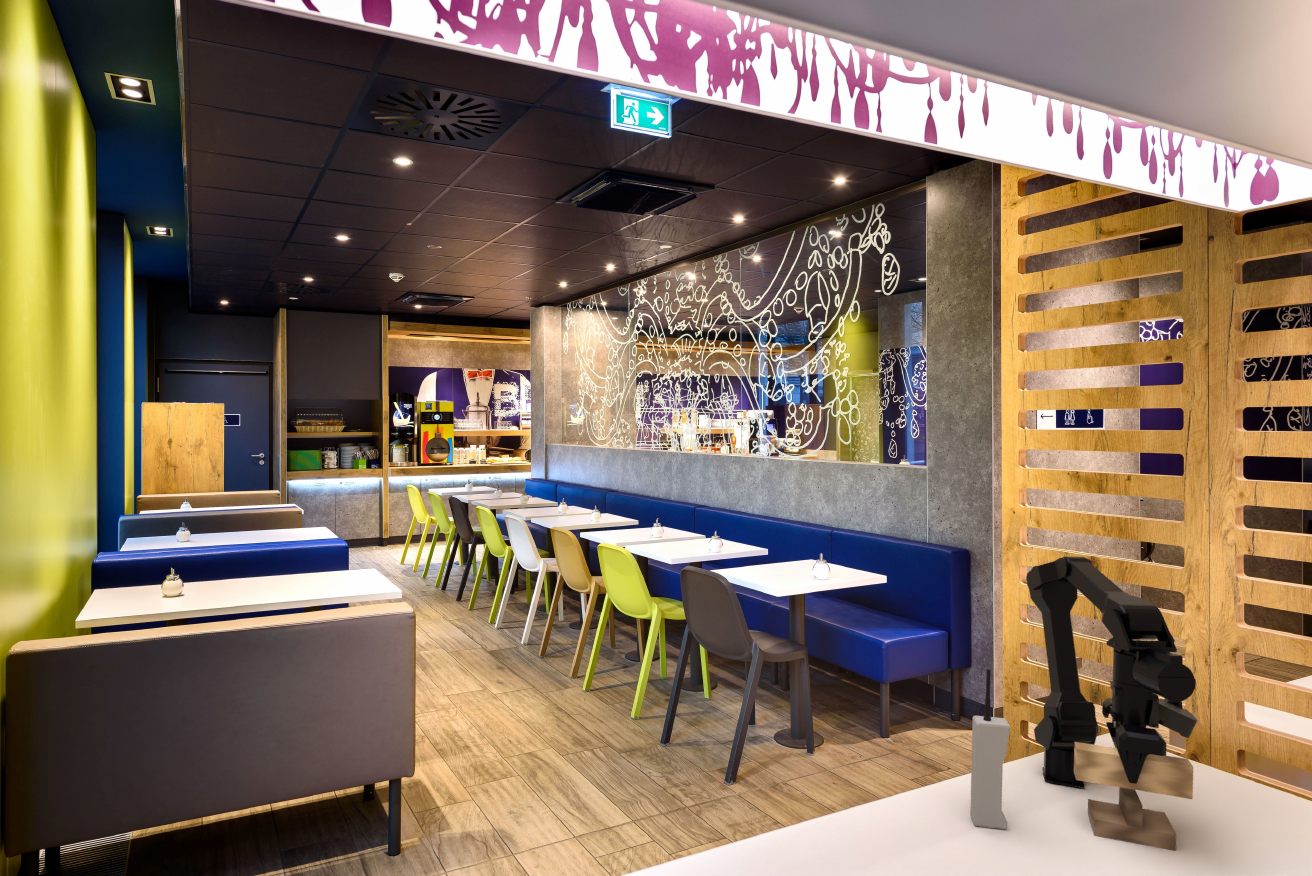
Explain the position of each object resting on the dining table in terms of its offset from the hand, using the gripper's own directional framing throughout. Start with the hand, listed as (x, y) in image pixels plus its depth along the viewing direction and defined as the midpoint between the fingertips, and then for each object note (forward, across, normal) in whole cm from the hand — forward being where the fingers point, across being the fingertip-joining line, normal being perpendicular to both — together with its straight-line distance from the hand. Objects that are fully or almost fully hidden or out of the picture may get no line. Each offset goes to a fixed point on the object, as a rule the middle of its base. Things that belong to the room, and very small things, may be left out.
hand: (1130, 778), depth 127 cm
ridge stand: (+8, 0, 0) cm, 9 cm away
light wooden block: (+1, 0, 0) cm, 1 cm away
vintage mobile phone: (+9, -7, +21) cm, 24 cm away
